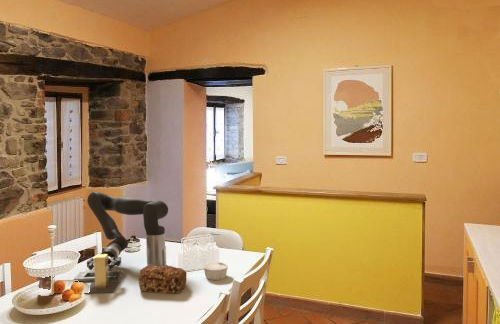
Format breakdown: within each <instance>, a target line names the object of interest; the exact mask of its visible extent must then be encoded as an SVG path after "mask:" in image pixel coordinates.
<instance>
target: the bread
mask: <svg viewBox="0 0 500 324" xmlns="http://www.w3.org/2000/svg"><path fill="white" fill-rule="evenodd" d="M186 285H187V271H186V270H185V269H183V268H182V267H176V266H172V265H166V266H153V265H150V266H147V265H146V266H144V267H143V268H142V269H141V270H139V275H138V287H139V290H140V292H141V291H142V292H148V293H149V292H150V293H161V294H169V293H170V294H176V295H177V294H180V293H181V292H182V291H183V289H185V287H186Z"/></svg>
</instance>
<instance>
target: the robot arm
mask: <svg viewBox="0 0 500 324" xmlns="http://www.w3.org/2000/svg"><path fill="white" fill-rule="evenodd" d="M86 200H87V201H86V202H87V205H88V207H89V208H90V210H91V211H92V212H93V214H94V216H95V217H96V219H97V220H98V223H99V224H100V226H101V228H102V230H103V233H104V235H105V237H106V239H107V240H110V242H109V243H108V244H107V245H106V247H105V248H104V250H103V251H102V252H101V253H100V254H108V270H112V269H114V267H120V266H121V264H122V257H121V256H120V255H121V253H122V252H123V251H124V250H125V249H127V248H128V245H129V241H128V239H127V238H125V236H124V235H123V234H122V232H120V230H119V227H118V226H117V224H116V222H115V220H114V219H113V217H112V216H110V214H109V213H108V212H107V211H112V212H116V213H117V214H121V215H127V216H139V215H142V216H143V227H144V230H145V245H146V248H145V249H146V266H150V265H153V266H167V246H166V229H165V227H164V226H163V225H160V224H159V220H162V219H163V218H165V217H166V216H167V215H168V213H169V207H168V205H167V204H166V202H164V201H163V200H147V199H141V198H137V197H131V196H120V197H115V196H111V195H108V194H107V193H106V194H105V193H102V192H100V191H92V192H90V193H89V195H88V196H87V199H86ZM86 267H87V268H88V270H89V271H92V269H94V257H90V258H89V259H87V261H86Z"/></svg>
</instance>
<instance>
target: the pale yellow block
mask: <svg viewBox="0 0 500 324" xmlns="http://www.w3.org/2000/svg"><path fill="white" fill-rule="evenodd" d="M93 259H94V264H93V265H94V267H93V269H94V272H95V276H94V277H95V281H94V282H95V289H106V288H107V286H108V285H109V282H110V281H109V277H110V276H109V275H108V271H109V266H108V254H101V253H98V254H96V255H95V256H94V257H93Z"/></svg>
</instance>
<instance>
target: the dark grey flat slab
mask: <svg viewBox="0 0 500 324" xmlns="http://www.w3.org/2000/svg"><path fill="white" fill-rule="evenodd" d="M123 272H124V271H123V270H108V277H109V282H110V281H120V278H121V277H122V275H123ZM74 280H78V281H84V283H85V282H86V283H87V282H89V283H90V282H95V271H80V272H78V274H77V275H76V276H75V277H74V278H73V281H74Z"/></svg>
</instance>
